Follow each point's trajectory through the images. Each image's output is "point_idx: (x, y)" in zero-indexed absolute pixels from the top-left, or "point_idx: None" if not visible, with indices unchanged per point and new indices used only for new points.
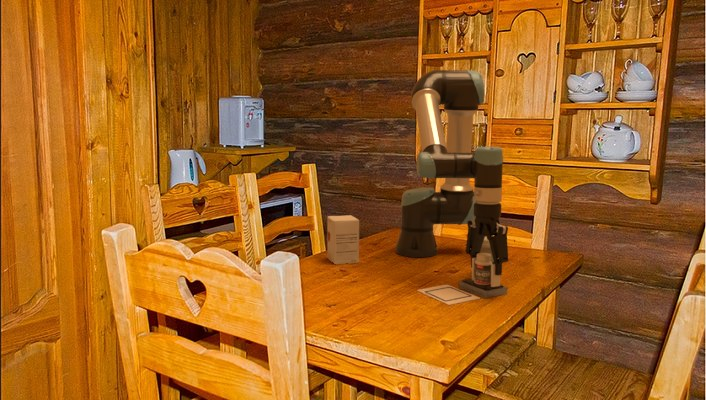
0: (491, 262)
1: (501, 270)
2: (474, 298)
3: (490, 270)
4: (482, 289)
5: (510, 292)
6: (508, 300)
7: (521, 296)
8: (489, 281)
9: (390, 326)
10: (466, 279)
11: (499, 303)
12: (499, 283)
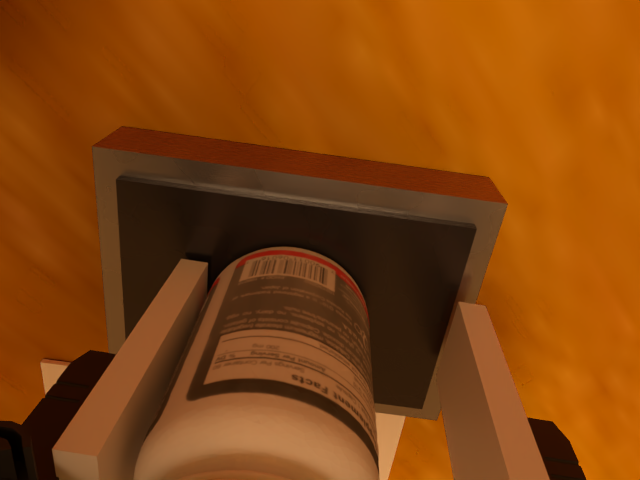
0: (358, 471)
1: (579, 476)
2: (388, 439)
3: (374, 414)
4: (389, 406)
5: (490, 109)
6: (582, 295)
7: (632, 126)
8: (369, 333)
9: None
10: (125, 334)
11: (560, 385)
12: (488, 326)
